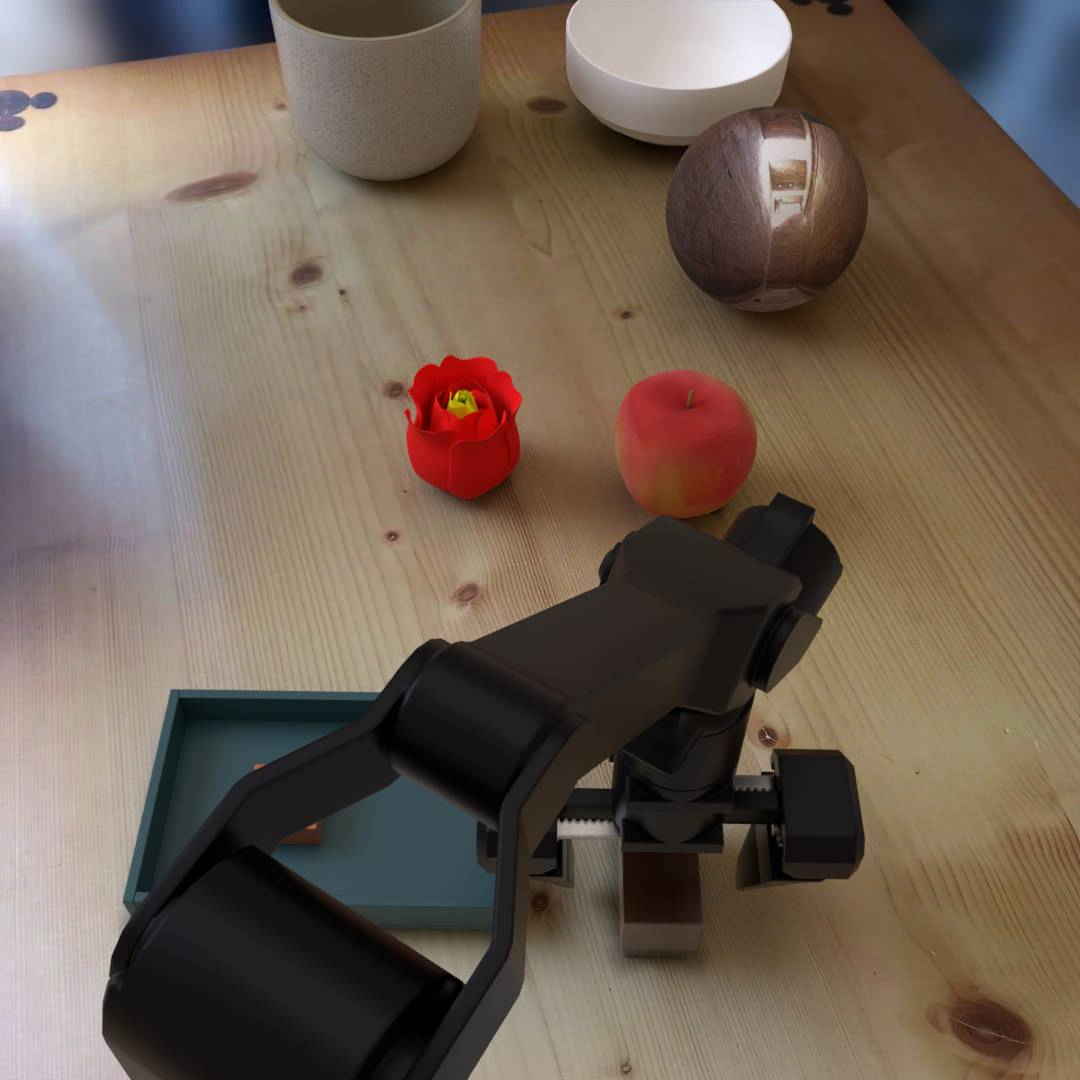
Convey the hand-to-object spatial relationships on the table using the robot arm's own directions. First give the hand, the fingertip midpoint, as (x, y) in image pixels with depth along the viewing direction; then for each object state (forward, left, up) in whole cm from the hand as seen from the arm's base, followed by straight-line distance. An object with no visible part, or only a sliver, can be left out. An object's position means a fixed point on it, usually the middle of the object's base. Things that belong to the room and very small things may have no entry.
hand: (654, 880), depth 71 cm
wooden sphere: (+41, +32, -2) cm, 52 cm away
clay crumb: (-13, +17, -1) cm, 21 cm away
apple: (+21, +20, -2) cm, 29 cm away
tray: (-11, +15, -1) cm, 19 cm away
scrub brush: (0, 0, -1) cm, 1 cm away
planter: (+30, +66, -2) cm, 73 cm away
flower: (+11, +31, -2) cm, 33 cm away
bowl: (+53, +54, -2) cm, 76 cm away
